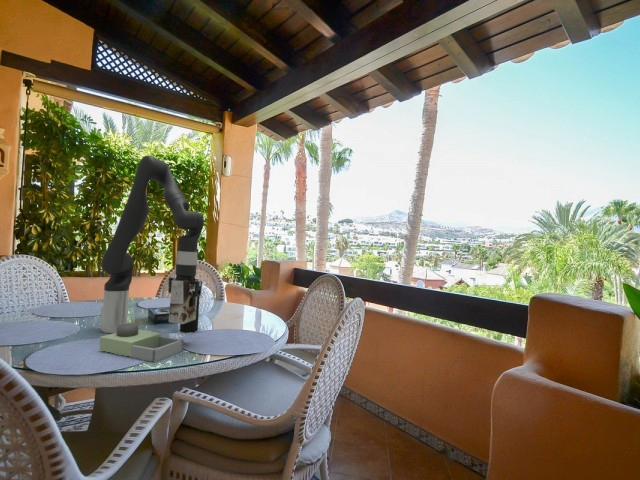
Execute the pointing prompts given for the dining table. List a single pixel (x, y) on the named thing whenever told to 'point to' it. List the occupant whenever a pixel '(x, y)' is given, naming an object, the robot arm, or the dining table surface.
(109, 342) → the green and grey tray
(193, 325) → the wine bottle
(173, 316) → the coffee box
